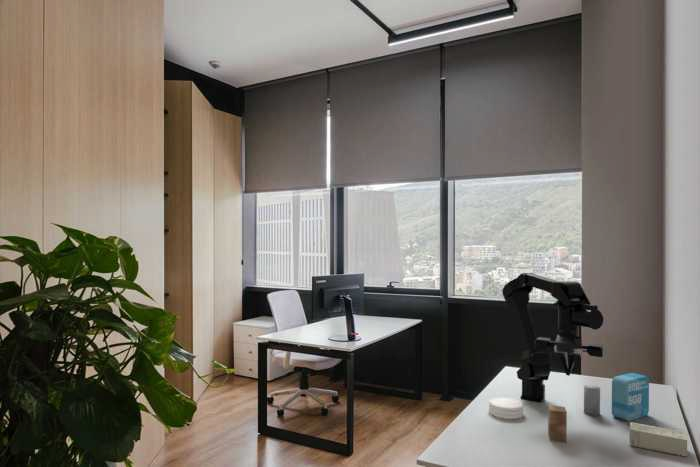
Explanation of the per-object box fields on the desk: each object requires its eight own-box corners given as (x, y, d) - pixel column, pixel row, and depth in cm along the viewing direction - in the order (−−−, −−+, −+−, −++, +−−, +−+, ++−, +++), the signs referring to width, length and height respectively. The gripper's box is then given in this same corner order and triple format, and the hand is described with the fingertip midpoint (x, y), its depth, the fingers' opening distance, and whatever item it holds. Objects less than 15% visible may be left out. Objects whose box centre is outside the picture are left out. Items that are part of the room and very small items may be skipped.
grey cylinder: (583, 413, 142) (583, 387, 142) (584, 409, 146) (584, 383, 146) (599, 417, 140) (599, 390, 140) (600, 412, 143) (600, 386, 143)
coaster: (515, 407, 147) (515, 396, 147) (529, 420, 137) (529, 408, 137) (483, 408, 146) (484, 396, 146) (496, 420, 136) (496, 408, 136)
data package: (626, 422, 136) (626, 381, 136) (611, 417, 140) (611, 377, 140) (649, 415, 142) (649, 375, 142) (634, 410, 146) (634, 371, 146)
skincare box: (629, 445, 120) (687, 458, 114) (629, 428, 120) (687, 440, 114) (629, 437, 125) (685, 449, 119) (630, 420, 125) (685, 431, 119)
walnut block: (549, 440, 122) (550, 410, 123) (548, 434, 126) (548, 405, 126) (566, 442, 121) (566, 412, 121) (564, 436, 125) (564, 406, 125)
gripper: (530, 324, 139) (530, 376, 139) (601, 331, 129) (600, 387, 129) (537, 318, 149) (537, 368, 148) (604, 325, 139) (603, 377, 138)
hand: (568, 375), depth 141 cm, fingers closed
